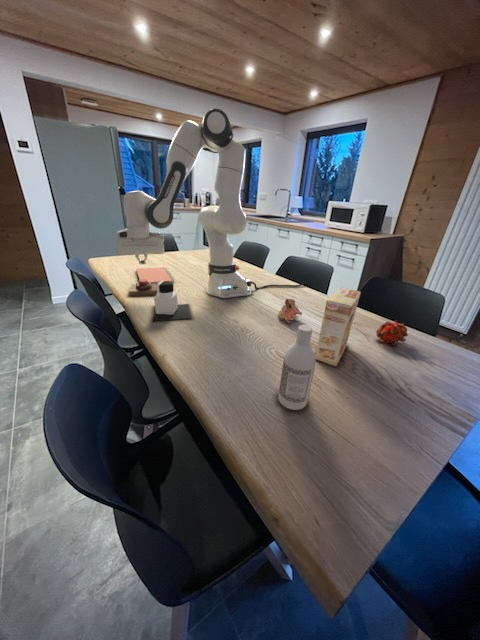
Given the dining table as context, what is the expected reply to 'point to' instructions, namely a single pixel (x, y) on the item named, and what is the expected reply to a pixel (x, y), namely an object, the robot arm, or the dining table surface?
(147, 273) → the notebook
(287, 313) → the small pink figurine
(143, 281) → the button
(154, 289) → the button box
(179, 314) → the mat
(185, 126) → the robot arm
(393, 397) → the dining table surface
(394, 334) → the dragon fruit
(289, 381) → the bath foam
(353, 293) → the coffeecake box
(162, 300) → the medicine bottle
